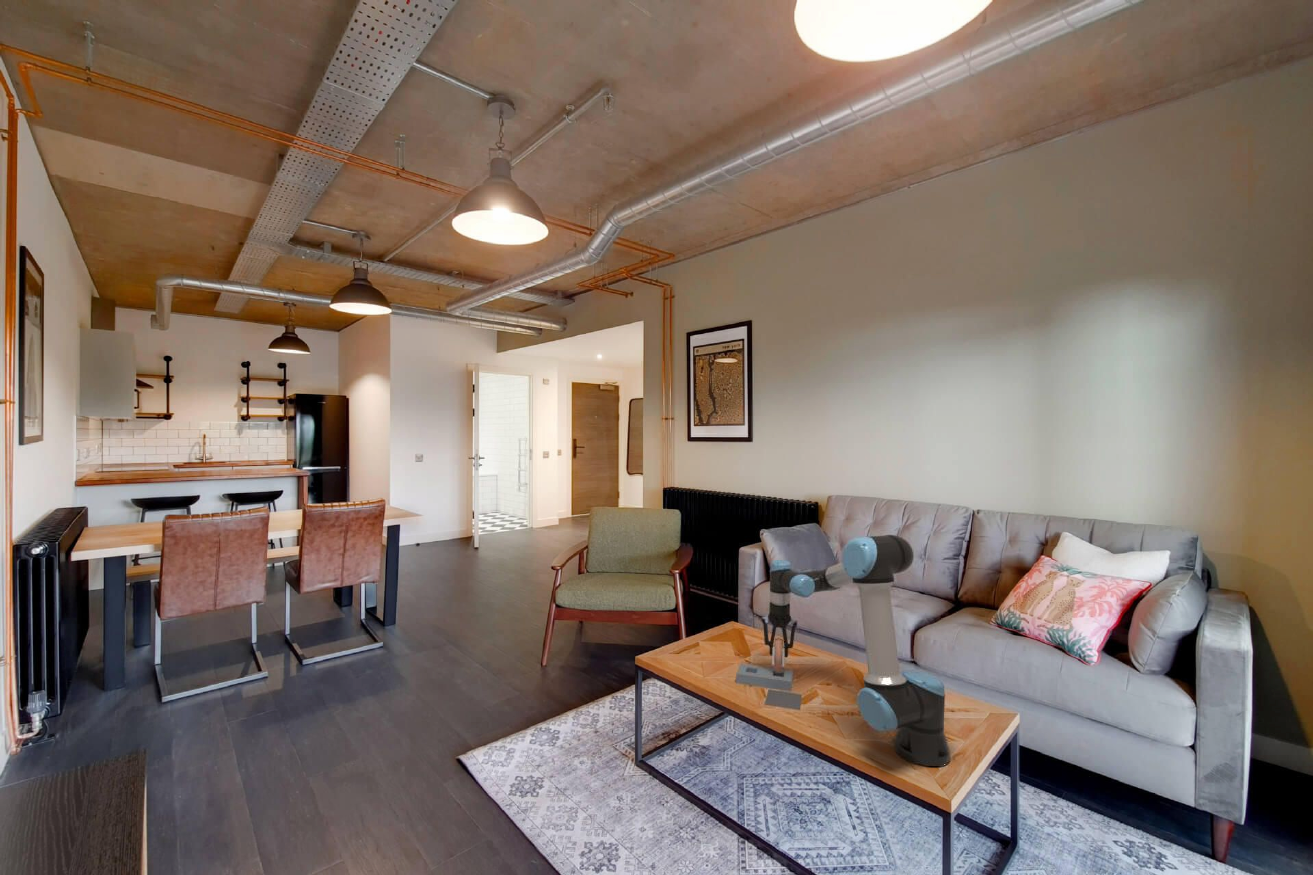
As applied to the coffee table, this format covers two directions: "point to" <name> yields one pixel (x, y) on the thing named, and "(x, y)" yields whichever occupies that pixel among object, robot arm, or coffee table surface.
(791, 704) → the mat
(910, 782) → the coffee table surface
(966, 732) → the coffee table surface
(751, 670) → the hole block
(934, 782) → the coffee table surface
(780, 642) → the peg
